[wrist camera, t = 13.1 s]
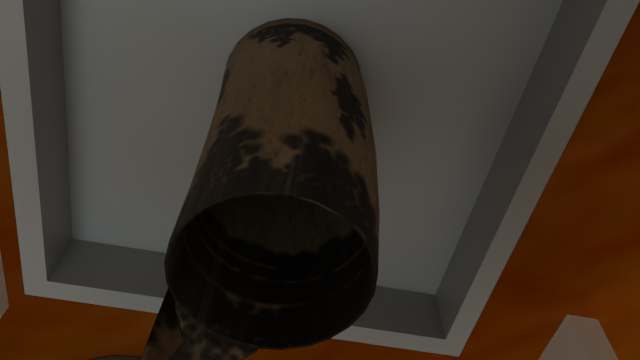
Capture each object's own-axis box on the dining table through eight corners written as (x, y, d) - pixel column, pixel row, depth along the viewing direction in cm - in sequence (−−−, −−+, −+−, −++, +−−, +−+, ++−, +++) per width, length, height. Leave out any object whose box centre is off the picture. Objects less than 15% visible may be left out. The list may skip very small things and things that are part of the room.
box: (634, -114, 19) (691, -101, 16) (445, 303, 30) (458, 356, 27) (21, -263, 17) (-43, -279, 14) (56, 243, 28) (24, 294, 25)
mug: (286, -18, 20) (249, 148, 10) (394, 77, 22) (453, 296, 12) (166, 129, 23) (46, 366, 13) (269, 200, 25) (233, 454, 15)
